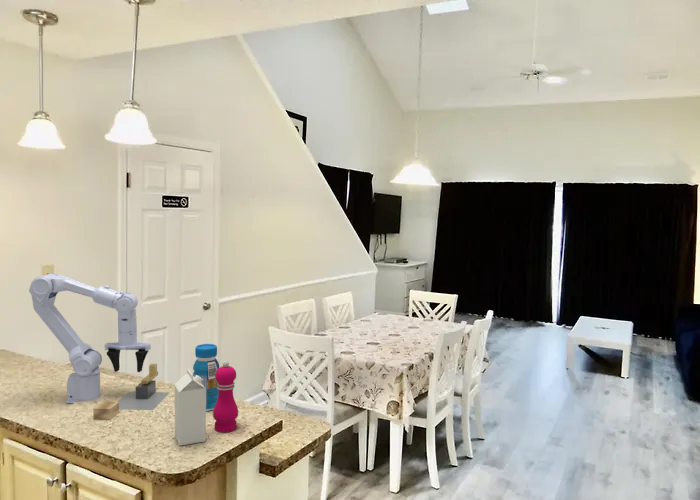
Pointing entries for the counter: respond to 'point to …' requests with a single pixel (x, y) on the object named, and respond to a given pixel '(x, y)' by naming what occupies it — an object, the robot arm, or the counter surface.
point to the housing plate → (141, 402)
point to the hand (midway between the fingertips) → (128, 371)
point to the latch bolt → (150, 374)
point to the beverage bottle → (207, 372)
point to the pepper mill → (225, 399)
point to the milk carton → (190, 410)
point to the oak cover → (106, 410)
